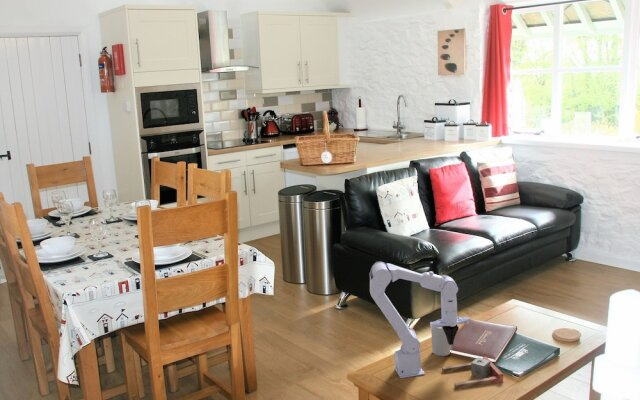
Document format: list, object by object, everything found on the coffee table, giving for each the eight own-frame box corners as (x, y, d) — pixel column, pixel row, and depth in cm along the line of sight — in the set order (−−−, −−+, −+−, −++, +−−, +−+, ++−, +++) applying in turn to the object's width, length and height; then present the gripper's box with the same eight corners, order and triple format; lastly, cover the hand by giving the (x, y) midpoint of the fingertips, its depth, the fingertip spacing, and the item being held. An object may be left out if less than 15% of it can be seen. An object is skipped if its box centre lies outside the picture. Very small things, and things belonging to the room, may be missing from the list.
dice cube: (478, 369, 228) (478, 357, 227) (490, 373, 224) (490, 360, 223) (471, 375, 224) (471, 362, 223) (484, 378, 221) (483, 366, 220)
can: (451, 357, 239) (450, 328, 236) (432, 357, 240) (430, 328, 238) (451, 348, 246) (450, 320, 244) (432, 348, 248) (431, 320, 245)
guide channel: (456, 389, 215) (455, 381, 215) (442, 370, 229) (441, 363, 228) (503, 381, 218) (502, 373, 217) (486, 363, 231) (486, 356, 231)
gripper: (433, 316, 221) (435, 350, 223) (472, 310, 223) (473, 345, 225) (427, 309, 228) (429, 342, 230) (464, 303, 230) (465, 337, 232)
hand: (450, 343), depth 228 cm, fingers closed
